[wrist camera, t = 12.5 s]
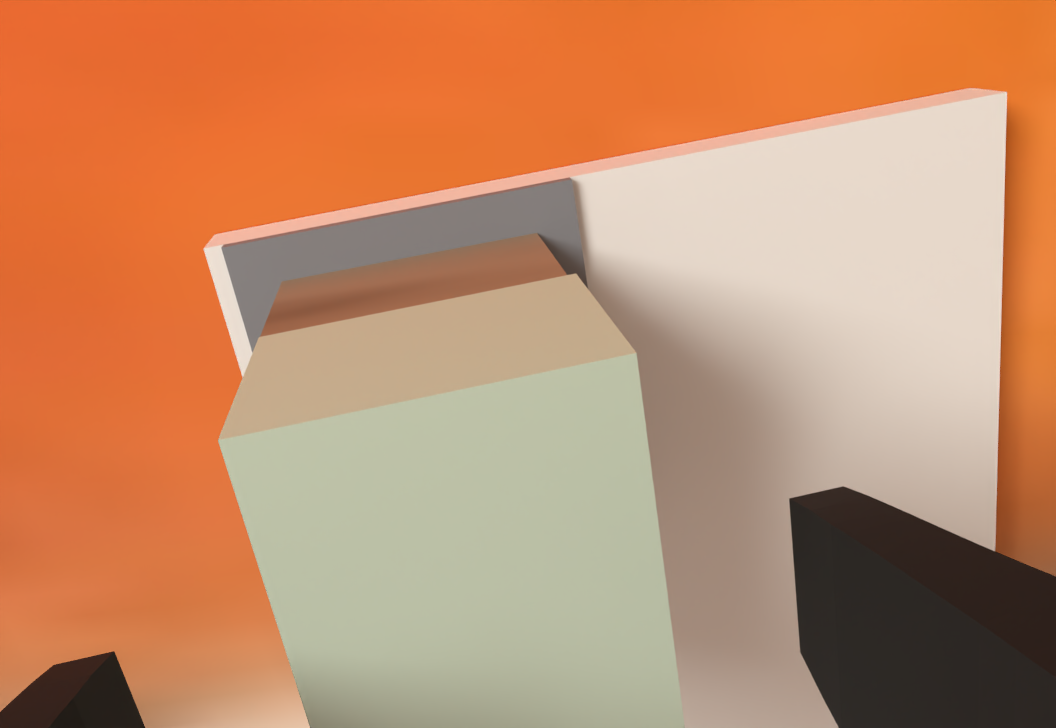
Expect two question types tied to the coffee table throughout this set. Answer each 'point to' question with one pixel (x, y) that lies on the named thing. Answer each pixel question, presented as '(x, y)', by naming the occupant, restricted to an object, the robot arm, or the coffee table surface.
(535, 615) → the sage brick
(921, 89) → the coffee table surface
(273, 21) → the coffee table surface
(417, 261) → the walnut brick
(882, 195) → the board
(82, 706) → the robot arm
